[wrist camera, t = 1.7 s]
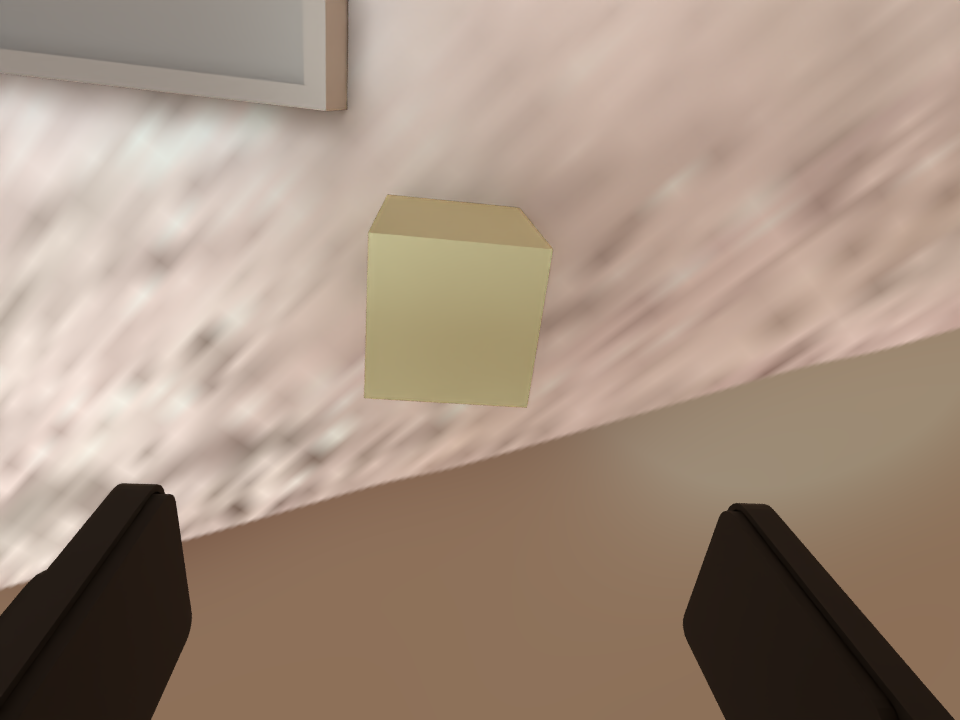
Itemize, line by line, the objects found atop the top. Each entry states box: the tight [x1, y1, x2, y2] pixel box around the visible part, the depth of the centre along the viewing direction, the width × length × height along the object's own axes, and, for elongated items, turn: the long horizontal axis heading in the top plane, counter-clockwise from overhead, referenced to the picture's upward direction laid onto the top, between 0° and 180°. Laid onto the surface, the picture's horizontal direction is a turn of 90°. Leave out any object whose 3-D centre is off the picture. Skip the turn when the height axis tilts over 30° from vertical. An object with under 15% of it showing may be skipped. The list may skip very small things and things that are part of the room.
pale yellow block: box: [364, 195, 553, 408], centre depth 23 cm, size 6×6×8 cm
